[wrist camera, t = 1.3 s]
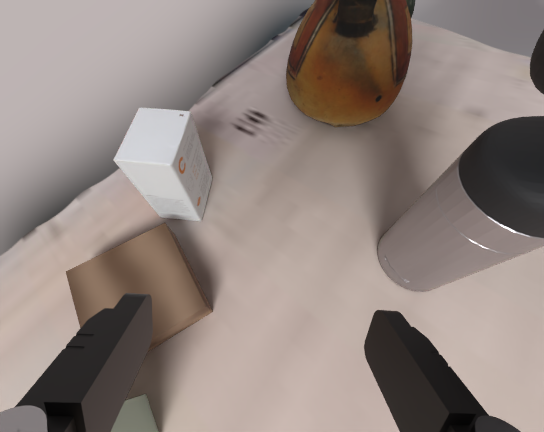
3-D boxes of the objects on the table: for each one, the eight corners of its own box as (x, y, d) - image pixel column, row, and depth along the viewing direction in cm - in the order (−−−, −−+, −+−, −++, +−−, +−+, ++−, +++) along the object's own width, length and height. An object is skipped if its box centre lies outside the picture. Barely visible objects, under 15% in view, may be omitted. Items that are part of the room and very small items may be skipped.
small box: (174, 174, 42) (138, 105, 30) (213, 177, 41) (192, 109, 30) (158, 218, 38) (111, 159, 26) (201, 223, 37) (172, 165, 26)
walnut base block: (175, 235, 36) (165, 222, 33) (212, 311, 32) (205, 306, 28) (87, 280, 33) (65, 271, 30) (114, 372, 29) (92, 375, 25)
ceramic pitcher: (391, 80, 53) (510, -188, 27) (383, 151, 44) (553, -148, 18) (298, 63, 56) (325, -199, 29) (273, 128, 47) (279, -168, 20)
